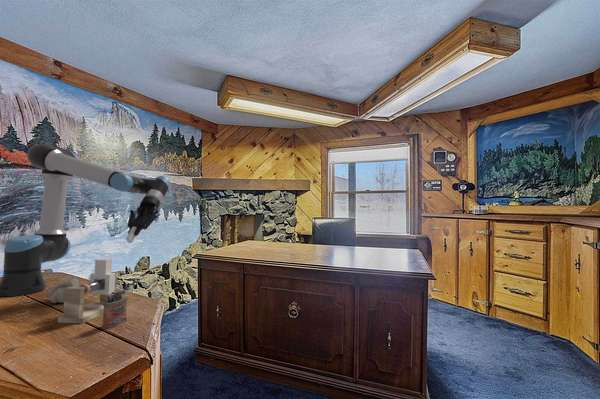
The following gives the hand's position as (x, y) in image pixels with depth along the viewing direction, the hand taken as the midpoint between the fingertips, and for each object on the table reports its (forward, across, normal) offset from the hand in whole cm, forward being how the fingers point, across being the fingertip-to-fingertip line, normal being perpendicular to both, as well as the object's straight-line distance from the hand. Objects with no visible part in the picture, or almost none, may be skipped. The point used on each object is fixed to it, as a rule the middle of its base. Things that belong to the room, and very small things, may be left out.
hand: (128, 240), depth 119 cm
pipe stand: (+29, +1, -4) cm, 29 cm away
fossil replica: (+20, +22, -13) cm, 32 cm away
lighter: (+36, -13, +3) cm, 38 cm away
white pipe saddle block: (+22, +1, -3) cm, 22 cm away
